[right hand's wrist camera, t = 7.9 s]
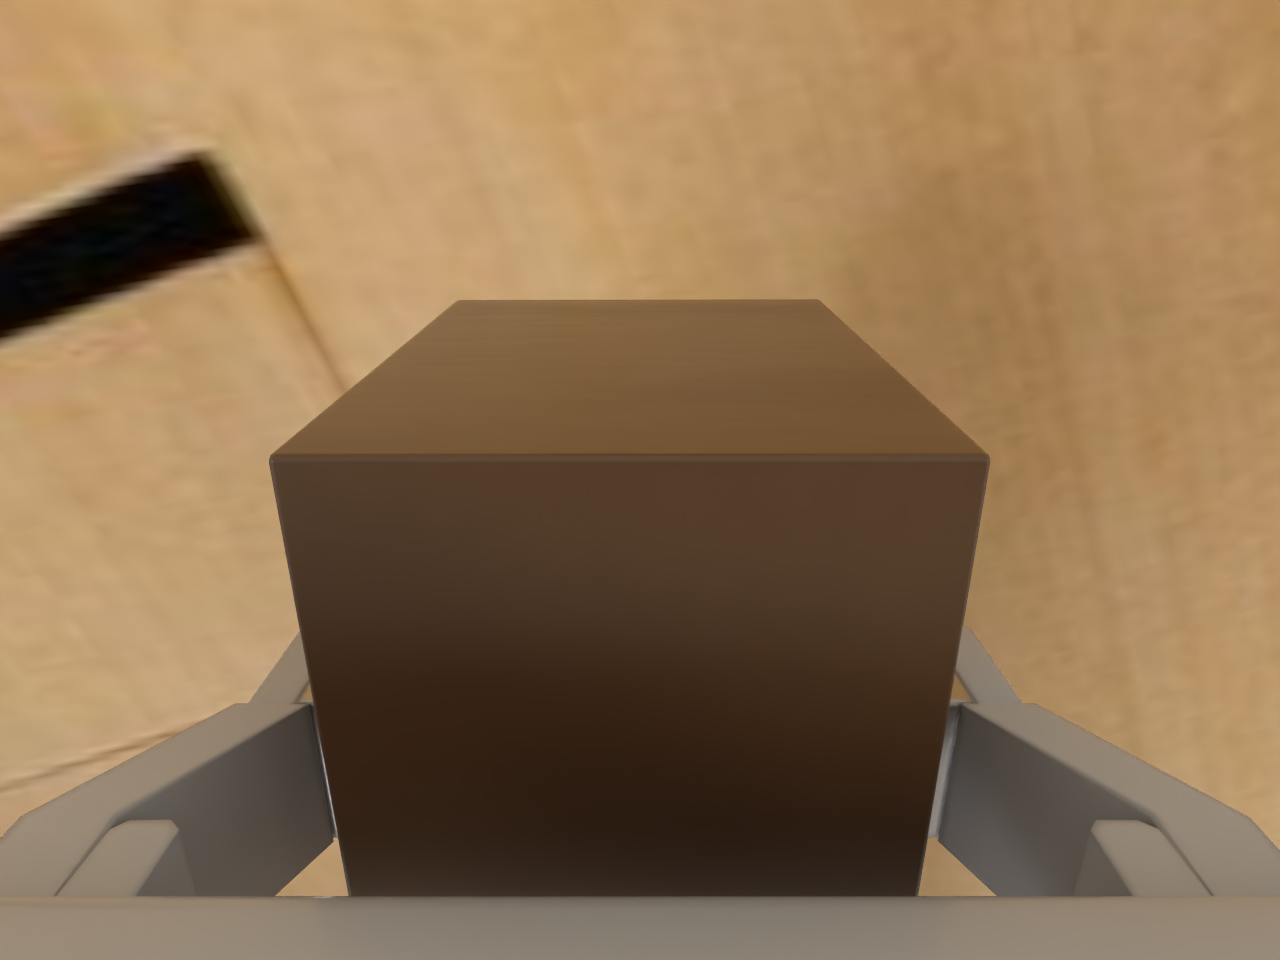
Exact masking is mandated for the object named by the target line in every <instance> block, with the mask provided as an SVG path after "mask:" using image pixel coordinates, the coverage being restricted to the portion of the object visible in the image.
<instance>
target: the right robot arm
mask: <svg viewBox="0 0 1280 960" xmlns="http://www.w3.org/2000/svg"><path fill="white" fill-rule="evenodd" d="M333 837H338V834H337V829H336V823H335V818H334V812H333V807H332V802H331V796H330V791H329V785H328V780H327V774H326V769H325V764H324V758H323V753H322V747H321V742H320V736H319V731H318V726H317V720H316V715H315V709H314V704H313V698H312V693H311V688H310V682H309V677H308V671H307V666H306V660H305V655H304V649H303V644H302V639H301V633H300V631H299V633H298V634H297V635H296V637H295V638H294V640H293V641H292V642H291V644H290V645H289V647H288V648H287V649H286V651H285V652H284V654H283V655H282V657H281V658H280V659H279V661H278V662H277V664H276V665H275V666H274V668H273V669H272V671H271V672H270V673H269V675H268V676H267V678H266V679H265V680H264V682H263V683H262V685H261V686H260V687H259V689H258V690H257V692H256V693H255V694H254V696H253V697H252V699H251V700H250V701H249V703H248V704H234V705H232V706H230V707H228V708H226V709H224V710H222V711H220V712H218V713H216V714H215V715H213V716H211V717H209V718H207V719H205V720H203V721H201V722H199V723H197V724H196V725H194V726H192V727H190V728H188V729H186V730H184V731H182V732H180V733H178V734H177V735H175V736H173V737H171V738H169V739H167V740H165V741H163V742H161V743H159V744H158V745H156V746H154V747H152V748H150V749H148V750H146V751H144V752H142V753H140V754H139V755H137V756H135V757H133V758H131V759H129V760H127V761H125V762H123V763H121V764H120V765H118V766H116V767H114V768H112V769H110V770H108V771H106V772H104V773H102V774H101V775H99V776H97V777H95V778H93V779H91V780H89V781H87V782H85V783H83V784H82V785H80V786H78V787H76V788H74V789H72V790H70V791H68V792H66V793H64V794H63V795H61V796H59V797H57V798H55V799H53V800H51V801H49V802H47V803H46V804H44V805H42V806H40V807H38V808H36V809H34V810H32V811H30V812H28V813H27V814H25V815H23V816H21V817H20V818H19V819H18V820H17V821H16V822H15V823H14V824H13V825H12V827H11V828H10V829H9V830H8V831H7V832H6V833H5V834H4V835H3V836H2V837H1V838H0V960H1280V850H1279V849H1278V848H1277V847H1276V846H1275V845H1274V844H1273V843H1272V842H1271V840H1270V839H1269V838H1268V837H1267V836H1266V835H1265V834H1264V833H1263V832H1262V831H1261V829H1260V828H1259V827H1258V826H1257V825H1256V824H1255V823H1254V822H1253V821H1252V819H1251V818H1249V817H1248V816H1246V815H1244V814H1242V813H1240V812H1238V811H1236V810H1234V809H1233V808H1231V807H1229V806H1227V805H1225V804H1223V803H1221V802H1219V801H1218V800H1216V799H1214V798H1212V797H1210V796H1208V795H1206V794H1204V793H1203V792H1201V791H1199V790H1197V789H1195V788H1193V787H1191V786H1189V785H1188V784H1186V783H1184V782H1182V781H1180V780H1178V779H1176V778H1174V777H1173V776H1171V775H1169V774H1167V773H1165V772H1163V771H1161V770H1159V769H1158V768H1156V767H1154V766H1152V765H1150V764H1148V763H1146V762H1144V761H1143V760H1141V759H1139V758H1137V757H1135V756H1133V755H1131V754H1129V753H1128V752H1126V751H1124V750H1122V749H1120V748H1118V747H1116V746H1114V745H1113V744H1111V743H1109V742H1107V741H1105V740H1103V739H1101V738H1099V737H1098V736H1096V735H1094V734H1092V733H1090V732H1088V731H1086V730H1084V729H1083V728H1081V727H1079V726H1077V725H1075V724H1073V723H1071V722H1069V721H1068V720H1066V719H1064V718H1062V717H1060V716H1058V715H1056V714H1054V713H1053V712H1051V711H1049V710H1047V709H1045V708H1043V707H1041V706H1039V705H1038V704H1023V703H1022V701H1021V700H1020V698H1019V697H1018V696H1017V694H1016V693H1015V691H1014V690H1013V688H1012V687H1011V686H1010V684H1009V683H1008V681H1007V680H1006V678H1005V677H1004V676H1003V674H1002V673H1001V671H1000V670H999V668H998V667H997V666H996V664H995V663H994V661H993V660H992V659H991V657H990V656H989V654H988V653H987V651H986V650H985V649H984V647H983V646H982V644H981V643H980V641H979V640H978V639H977V637H976V636H975V634H974V633H973V631H972V630H971V629H970V628H968V627H966V626H964V625H963V627H962V633H961V639H960V645H959V651H958V657H957V663H956V669H955V675H954V681H953V687H952V694H951V700H950V706H949V712H948V718H947V724H946V730H945V736H944V742H943V748H942V754H941V760H940V766H939V772H938V778H937V784H936V790H935V796H934V802H933V808H932V814H931V820H930V826H929V832H928V837H939V838H938V841H939V842H940V843H941V844H942V845H943V846H944V847H945V848H946V849H947V850H948V851H949V852H951V853H952V854H953V855H954V856H955V857H956V858H957V859H958V860H959V861H960V862H961V863H962V864H963V865H964V866H966V867H967V868H968V869H969V870H970V871H971V872H972V873H973V874H974V875H975V876H976V877H977V878H978V879H979V880H981V881H982V882H983V883H984V884H985V885H986V886H987V887H988V888H989V889H990V890H991V891H992V892H993V893H994V894H996V895H997V896H275V895H276V894H277V893H278V892H279V891H280V890H281V889H282V888H284V887H285V886H286V885H287V884H288V883H289V882H290V881H291V880H292V879H293V878H294V877H296V876H297V875H298V874H299V873H300V872H301V871H302V870H303V869H304V868H305V867H306V866H307V865H309V864H310V863H311V862H312V861H313V860H314V859H315V858H316V857H317V856H318V855H319V854H320V853H322V852H323V851H324V850H325V849H326V848H327V847H328V846H329V845H330V844H331V843H332V842H333Z"/></svg>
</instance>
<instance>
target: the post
mask: <svg viewBox="0 0 1280 960" xmlns="http://www.w3.org/2000/svg"><path fill="white" fill-rule="evenodd" d="M269 465H270V470H271V476H272V481H273V486H274V492H275V497H276V503H277V508H278V514H279V519H280V525H281V530H282V535H283V541H284V546H285V552H286V557H287V563H288V568H289V573H290V579H291V584H292V590H293V595H294V601H295V606H296V611H297V617H298V622H299V628H300V633H301V639H302V644H303V649H304V655H305V660H306V666H307V671H308V677H309V682H310V688H311V693H312V698H313V704H314V709H315V715H316V720H317V726H318V731H319V736H320V742H321V747H322V753H323V758H324V764H325V769H326V774H327V780H328V785H329V791H330V796H331V802H332V807H333V812H334V818H335V823H336V829H337V834H338V840H339V845H340V851H341V856H342V861H343V867H344V872H345V878H346V883H347V889H348V894H349V896H918V892H919V886H920V880H921V874H922V868H923V862H924V856H925V850H926V844H927V838H928V832H929V826H930V820H931V814H932V808H933V802H934V796H935V790H936V784H937V778H938V772H939V766H940V760H941V754H942V748H943V742H944V736H945V730H946V724H947V718H948V712H949V706H950V700H951V694H952V687H953V681H954V675H955V669H956V663H957V657H958V651H959V645H960V639H961V633H962V627H963V621H964V615H965V609H966V603H967V597H968V591H969V585H970V579H971V573H972V567H973V561H974V555H975V549H976V543H977V537H978V531H979V525H980V519H981V513H982V507H983V501H984V495H985V489H986V483H987V477H988V471H989V465H990V458H989V455H988V454H987V453H986V452H985V451H984V450H983V449H981V448H980V447H979V446H978V445H977V444H976V443H975V442H974V441H973V440H972V439H970V438H969V437H968V436H967V435H966V434H965V433H964V432H963V431H962V430H961V429H960V428H958V427H957V426H956V425H955V424H954V423H953V422H952V421H951V420H950V419H949V418H948V417H946V416H945V415H944V414H943V413H942V412H941V411H940V410H939V409H938V408H937V407H936V406H934V405H933V404H932V403H931V402H930V401H929V400H928V399H927V398H926V397H925V396H923V395H922V394H921V393H920V392H919V391H918V390H917V389H916V388H915V387H914V386H913V385H911V384H910V383H909V382H908V381H907V380H906V379H905V378H904V377H903V376H902V375H901V374H899V373H898V372H897V371H896V370H895V369H894V368H893V367H892V366H891V365H890V364H888V363H887V362H886V361H885V360H884V359H883V358H882V357H881V356H880V355H879V354H878V353H876V352H875V351H874V350H873V349H872V348H871V347H870V346H869V345H868V344H867V343H866V342H864V341H863V340H862V339H861V338H860V337H859V336H858V335H857V334H856V333H855V332H854V331H852V330H851V329H850V328H849V327H848V326H847V325H846V324H845V323H844V322H843V321H841V320H840V319H839V318H838V317H837V316H836V315H835V314H834V313H833V312H832V311H831V310H829V309H828V308H827V307H826V306H825V305H824V304H823V303H822V302H821V301H819V300H459V301H456V302H455V303H454V304H453V305H452V306H450V307H449V308H448V309H447V310H446V311H444V312H443V313H442V314H441V315H439V316H438V317H437V318H436V319H435V320H433V321H432V322H431V323H430V324H429V325H427V326H426V327H425V328H424V329H423V330H421V331H420V332H419V333H418V334H417V335H415V336H414V337H413V338H412V339H410V340H409V341H408V342H407V343H406V344H404V345H403V346H402V347H401V348H400V349H398V350H397V351H396V352H395V353H394V354H392V355H391V356H390V357H389V358H388V359H386V360H385V361H384V362H383V363H381V364H380V365H379V366H378V367H377V368H375V369H374V370H373V371H372V372H371V373H369V374H368V375H367V376H366V377H365V378H363V379H362V380H361V381H360V382H359V383H357V384H356V385H355V386H354V387H353V388H351V389H350V390H349V391H348V392H346V393H345V394H344V395H343V396H342V397H340V398H339V399H338V400H337V401H336V402H334V403H333V404H332V405H331V406H330V407H328V408H327V409H326V410H325V411H324V412H322V413H321V414H320V415H319V416H317V417H316V418H315V419H314V420H313V421H311V422H310V423H309V424H308V425H307V426H305V427H304V428H303V429H302V430H301V431H299V432H298V433H297V434H296V435H295V436H293V437H292V438H291V439H290V440H288V441H287V442H286V443H285V444H284V445H282V446H281V447H280V448H279V449H278V450H276V451H275V452H274V453H273V454H272V455H270V459H269Z"/></svg>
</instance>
